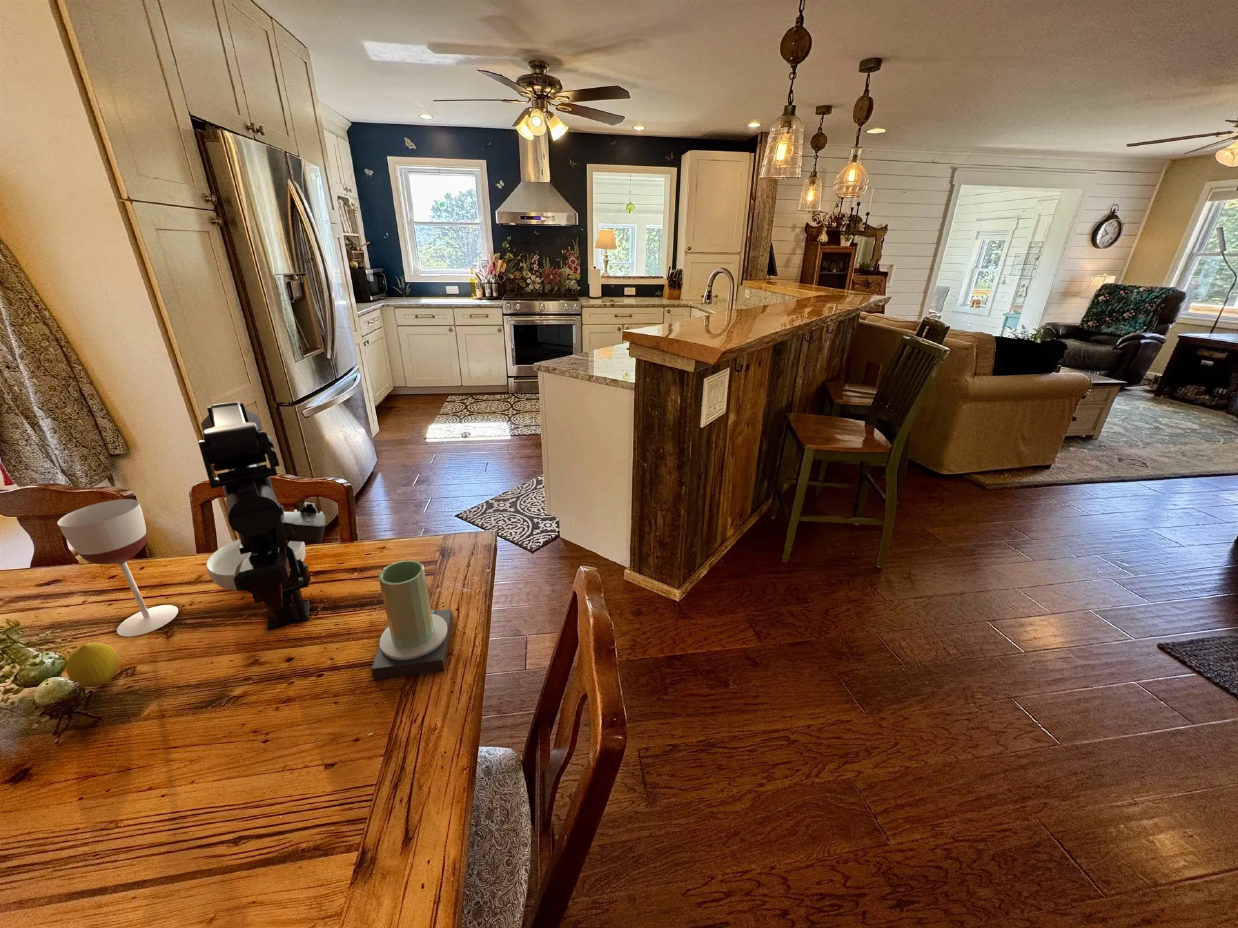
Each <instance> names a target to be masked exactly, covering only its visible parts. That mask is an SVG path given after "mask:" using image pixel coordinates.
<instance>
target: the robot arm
mask: <svg viewBox="0 0 1238 928" xmlns="http://www.w3.org/2000/svg"><path fill="white" fill-rule="evenodd" d="M206 409H207V413H208V415H207V416H206V417H205V418H204V419H203V420H202V421H201V423H200V426H201V430H202V437H203V439H202V440H198V446H199V450H200V454H201V458H202V461H203V465H204V468H205V471H206V475H207V478H208V482H209V485H210V489H217V488H222V490H223V493H224V496H225V507H226V512H227V513H226V514H227V520H228V524H229V526H230V528H231V530H232V531H234V532H236V533H237V535H238V539H240V542H241V543H240V546H239V551H240V554H245V553H250V552H251V555H250V557H249V559H246V560H242V561H241V563H240V564H239V565H238V566H237V568H236V571H235V575H234V579H233V580H234V583H235V586H236V589H237V590H238V591H237V592H248V593H250V594H251V596H252V599H253V602H254V604H255V605H257V604H259V603H262V602H263V603H264V604H265V607H266V609H267V613H268V618H267V626H266V629H267V631H269V632H270V631H273V630H277V629H280V628H284V627H288V626H292V625H295V624H300V623H303V622H306V621H308V620H309V618H310V616H309V615H310V599H308V598H306V599H304V595H303V592H302V589H304V588H309V586H310V585H309V584H310V582H311V581H312V579H311V575H310V570H309V566H308V563H306V562H304V561H301V558H298V559H296V557H295V553H294V550H293V549H292V548H290V547H289V546H288V543H289V542H290V541H296V542H304V543H311V544H315V545H317V544H321V543H322V542H323V538H324V534H325V533H324V532H325V528H326V515H325V514H324V512H323V511H319V510H318V508H317V505H316V503H315V502H307V501H305V502H303V504H302V505H301V506H300V507H299V508H298V509H293V511H285V509H284V505H283V504H281V502H278V499H277V496H276V494H275V491H274V488H273V484H272V480H271V477H274V476H278V472H277V468H276V467H280V466H281V465H280V461H279V458H278V455H277V452H276V448H275V445H274V443H273V439H272V437H271V436H269V435H268V434H267V433H268V432H266V431H265V430H263V427H262V423H261V421H260V417H259V415H258V414H256V413H254V412H252V411H250V410H248V409H246V408H245V405H244V402H243V401H242V402H239V401H231V402H222V403H215V404H211V405H210V406H206ZM267 460H268V463H269V467H268V465H267V464H266V463H267ZM214 471H215V472H219V473H216V477H215V475H214ZM221 471H224V472H221Z"/></svg>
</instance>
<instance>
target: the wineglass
mask: <svg viewBox="0 0 1238 928" xmlns="http://www.w3.org/2000/svg"><path fill="white" fill-rule="evenodd" d="M143 513H144V512H143V510H142V507H141V504H140V501H138V500H137V499H134V498H120V499H113V500H107V501H102V502H97V503H95V504H89V505H88V506H87V505H86V506H84V507H81V508H77V509H75V510H73V511H71V512H69V513H67V514H65V515H63V516H62V517H61V518H59V519H58V520H57V525H58V527H59V529H60V531H61V533H62V535H63V537H64V538H65V539H66V541H67V542H68V543H69V545H70V546H71V547H72V549H73V550H75V552H76V553H77V554H78V556H80V557H81V558H82V559H83V560H84V561H86V562H88V563H91V564H96V565H119V567H120V569H121V571H122V573H123V575H124V578H125V580H126V582H127V584H128V586H129V588H130V591H131V593H132V594H133V597H134V600H135V602H136V604H137V607H138V608H139V611H138V612H136V613H134V614H132V615H130V616H129V617H127V618H126V619H125V620H124V621H122V622H121V623H119V625H118V627H117V628H116V633H117V634H118V636H121V637H136V636H137V637H138V636H141V635H146V634H147V633H150V632H151V633H152V632H154V631H155V630H158V629H160V628H162V627H164V626H166V625H167V624H169V623H170V622H171V621H173V620H174V619H175V618H176V617H177V615H178V613H179V608H178V607H177V606H176V605H172V604H162V605H157V606H151V607H149V608H147V605H146V604H145V601H144V599H143V597H142V594H141V592H140V590H139V587H138V585H137V583H136V581H135V579H134V577H133V574H132V572H131V569H130V568H129V565H128V563H127V562H128V560H130V559H131V558H133V557H135V555H137V554H138V553H139V552H140V551H141V550H142V549H143V548H144V547H145V546H146V543H147V539H148V538H147V537H148V536H147V528H146V520H145V517H144V514H143Z"/></svg>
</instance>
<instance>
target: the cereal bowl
mask: <svg viewBox="0 0 1238 928" xmlns="http://www.w3.org/2000/svg"><path fill="white" fill-rule="evenodd" d="M240 543H241V542H240V539H239V538H238V539H235V540H233V541H231V542H229V543H227V544H225V545H223V546H221V547H220V548H218V549H217V550H215V551H214V552H213V553H212V554H211V555H210V556H208V559H207V561H206V563H205V567H206V571H207V573H208V576H209V578H210V579H211V581H212V582H213V583H214V584H215V585H216V586H218V587H220V588H222V589H225V590H228V591H232V592H239V591H238V590H237V589H236V586H235V583H234V580H233V579H234V575H235V571H236V568H237V566H238V565H239V564H240V563H241V561H242V560H246V559H249V557H250V555H251V552H250V553H245V554H240V551H239V546H240ZM305 543H306V542H296V541H290V542H289V543H288V546H289V547H290V548H292V549H293V550H294V553H295V557H296V559H298V558H301V561H303V562H304V561H305V558H306V553H307V552H306V544H305Z"/></svg>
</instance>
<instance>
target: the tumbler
mask: <svg viewBox="0 0 1238 928" xmlns="http://www.w3.org/2000/svg"><path fill="white" fill-rule="evenodd" d="M424 567H425V566H424V565H423V563H421V561H418V560H413V559H409V560H401V561H396V562H394V563H393V562H392V563H391V564H389V565H387V566H386V567H384V568H383V569H382V570H381V571H380V572H379V574H378V580H379V585H380V589H381V595H382V600H383V604H384V610H385V613H386V619H387V622H388V624H389V628H390V633H391V638H392V641H393V643H394V645H396V646H397V647H400V648H413V647H417V646H419V645H421V644H423V643H425V642H426V641H428V640H429V639H430V638H431V636H432V635H433V632H434V625H433V619H432V613H431V610H432V608H431V602H430V596H429V590H428V584H427V578H426V573H425V572H426V571H425V568H424Z"/></svg>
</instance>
